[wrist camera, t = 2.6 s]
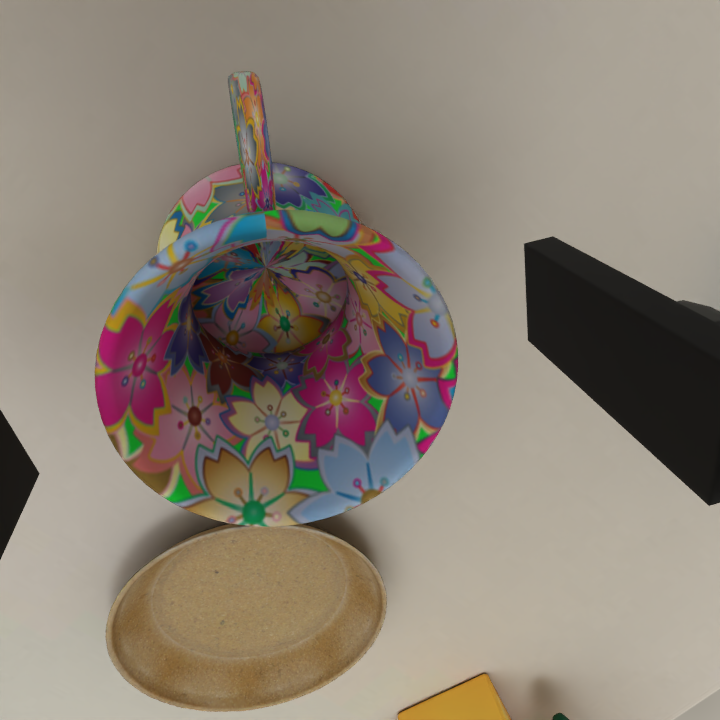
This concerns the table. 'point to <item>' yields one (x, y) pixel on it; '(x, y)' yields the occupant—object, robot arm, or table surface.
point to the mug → (273, 347)
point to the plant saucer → (245, 617)
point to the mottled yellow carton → (464, 704)
